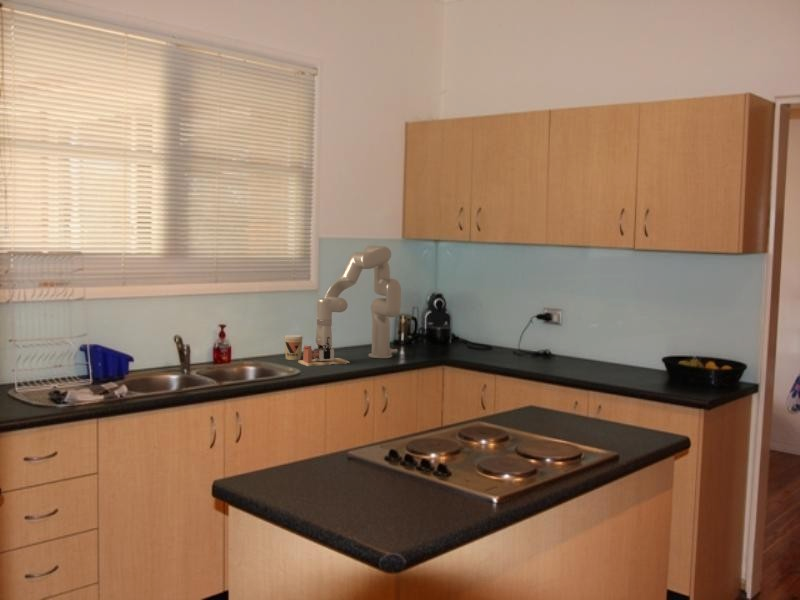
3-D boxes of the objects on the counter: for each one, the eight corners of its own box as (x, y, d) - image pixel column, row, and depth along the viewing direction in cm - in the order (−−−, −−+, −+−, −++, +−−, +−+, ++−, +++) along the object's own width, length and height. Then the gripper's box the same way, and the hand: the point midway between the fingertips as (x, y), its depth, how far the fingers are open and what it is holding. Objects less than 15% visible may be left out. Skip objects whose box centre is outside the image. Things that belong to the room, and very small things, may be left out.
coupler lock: (328, 357, 426) (328, 347, 425) (334, 359, 420) (334, 349, 420) (314, 359, 422) (314, 348, 421) (319, 361, 416) (319, 350, 416)
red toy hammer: (327, 359, 425) (327, 344, 424) (332, 361, 420) (332, 345, 419) (301, 361, 418) (301, 345, 417) (306, 363, 413) (306, 347, 412)
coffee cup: (282, 360, 426) (283, 336, 425) (285, 357, 436) (286, 334, 435) (300, 360, 426) (301, 337, 425) (303, 357, 435) (304, 334, 434)
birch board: (339, 359, 432) (339, 357, 432) (349, 363, 422) (349, 361, 421) (298, 362, 420) (298, 360, 420) (307, 366, 410) (307, 364, 410)
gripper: (310, 321, 425) (310, 355, 426) (324, 325, 410) (324, 361, 412) (323, 320, 428) (323, 354, 430) (338, 324, 413) (338, 360, 415)
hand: (324, 357), depth 421 cm, fingers closed on coupler lock, 6 cm apart
